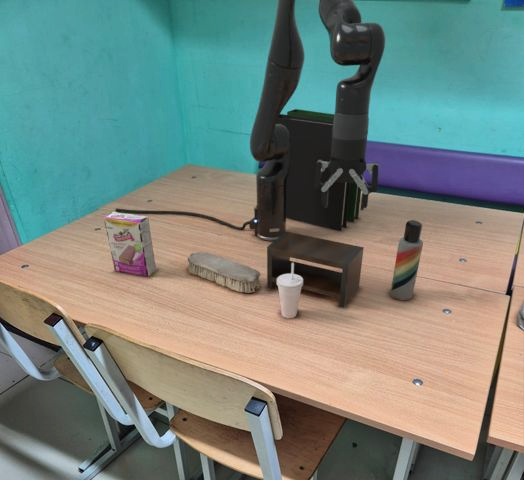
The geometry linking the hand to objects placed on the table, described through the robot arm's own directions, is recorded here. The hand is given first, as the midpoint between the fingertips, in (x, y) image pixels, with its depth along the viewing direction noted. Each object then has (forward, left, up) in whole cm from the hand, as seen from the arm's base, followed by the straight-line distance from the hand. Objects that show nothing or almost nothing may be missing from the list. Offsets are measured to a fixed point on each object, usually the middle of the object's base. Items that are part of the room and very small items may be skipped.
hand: (343, 207), depth 115 cm
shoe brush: (-31, -7, -24) cm, 40 cm away
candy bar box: (-56, -14, -24) cm, 62 cm away
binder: (-27, +47, -24) cm, 59 cm away
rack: (-7, +1, -24) cm, 25 cm away
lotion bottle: (+15, +8, -24) cm, 29 cm away
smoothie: (-7, -14, -24) cm, 28 cm away
